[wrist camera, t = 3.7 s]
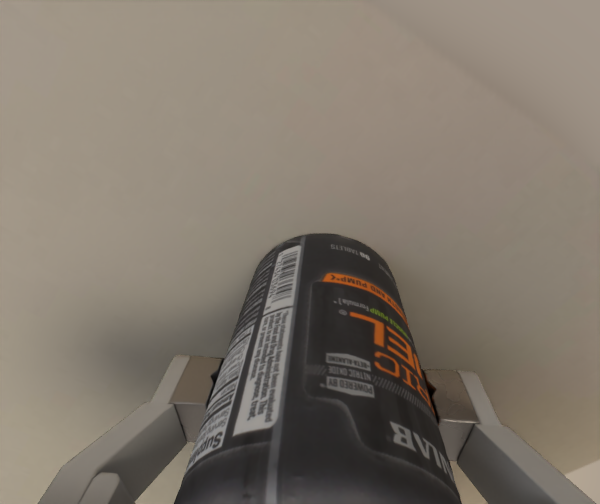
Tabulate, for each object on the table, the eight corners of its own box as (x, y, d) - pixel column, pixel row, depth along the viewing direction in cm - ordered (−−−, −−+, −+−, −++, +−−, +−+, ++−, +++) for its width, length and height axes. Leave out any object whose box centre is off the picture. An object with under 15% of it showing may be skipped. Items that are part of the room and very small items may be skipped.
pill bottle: (422, 302, 13) (667, 931, 4) (313, 359, 16) (290, 842, 6) (335, 197, 11) (379, 1010, 2) (223, 281, 14) (-32, 828, 4)
